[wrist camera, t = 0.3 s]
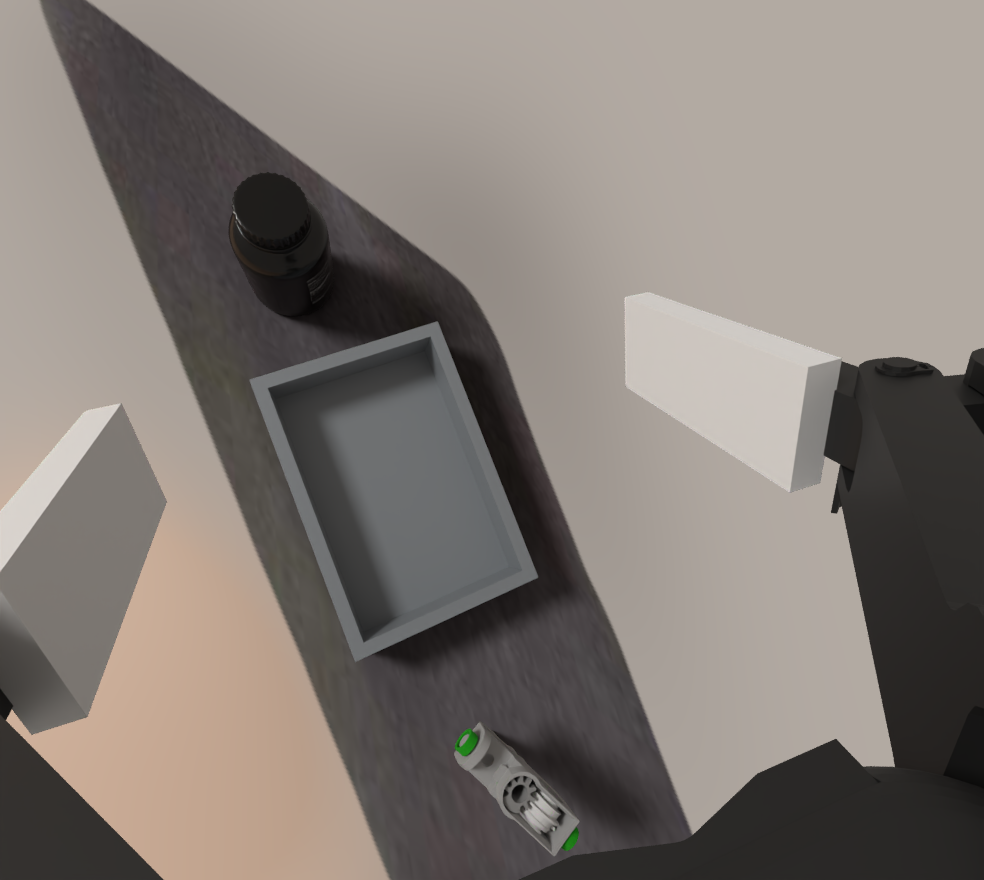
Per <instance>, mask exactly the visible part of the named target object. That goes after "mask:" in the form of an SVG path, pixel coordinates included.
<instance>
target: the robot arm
mask: <svg viewBox="0 0 984 880" xmlns="http://www.w3.org/2000/svg"><path fill="white" fill-rule="evenodd" d="M625 369H626V370H625V374H626V376H625V377H626V387H627V388H628V389H630V390H632V391H633V392H635V393H636V394H638V395H639V396H641V397H642V398H644V399H645V400H647V401H649V402H650V403H652V404H653V405H655V406H656V407H658V408H660V409H661V410H662V411H664V412H666V413H667V414H669V415H670V416H672V417H673V418H675V419H676V420H678V421H680V422H681V423H683V424H684V425H686V426H687V427H689V428H690V429H692V430H694V431H695V432H697V433H698V434H700V435H701V436H703V437H704V438H706V439H707V440H709V441H710V442H712V443H714V444H715V445H717V446H718V447H720V448H721V449H723V450H724V451H726V452H727V453H729V454H731V455H732V456H734V457H735V458H737V459H739V460H740V461H741V462H743V463H745V464H746V465H748V466H749V467H751V468H752V469H754V470H755V471H757V472H758V473H760V474H762V475H763V476H765V477H766V478H768V479H769V480H771V481H772V482H774V483H775V484H777V485H779V486H780V487H782V488H783V489H785V490H786V491H788V492H794V491H797V490H800V489H803V488H806V487H809V486H812V485H815V484H818V483H820V481H821V475H822V469H823V464H824V458H825V456H826V457H828V458H830V459H831V460H833V461H835V462H837V463H839V464H840V468H839V473H838V479H837V484H836V489H835V495H834V500H833V505H832V510H831V513H837V512H838V509H839V507H841V506H842V509H843V514H844V519H845V523H846V529H847V533H848V538H849V543H850V548H851V553H852V558H853V563H854V567H855V572H856V577H857V582H858V587H859V592H860V597H861V601H862V606H863V611H864V616H865V621H866V626H867V630H868V635H869V640H870V645H871V650H872V655H873V659H874V664H875V669H876V674H877V679H878V684H879V689H880V693H881V698H882V703H883V708H884V713H885V718H886V723H887V728H888V732H889V737H890V741H891V747H892V752H893V757H894V764H895V767H872V766H870V767H863V766H862V765H861V764H860V763H859V762H858V761H857V760H856V759H855V758H854V757H853V756H852V755H851V754H850V753H849V752H848V751H847V750H846V749H845V748H844V747H843V746H842V745H841V744H840V743H839V742H838V741H837V739H834V740H832V741H830V742H828V743H825V744H823V745H821V746H819V747H816V748H814V749H812V750H810V751H808V752H805V753H803V754H801V755H798V756H796V757H794V758H792V759H789V760H787V761H785V762H783V763H780V764H778V765H776V766H774V767H771V768H769V769H767V770H765V771H762V772H760V773H758V774H757V775H755V777H753V778H752V779H751V780H750V781H749V782H748V783H747V784H746V785H745V786H744V787H743V788H742V789H741V790H740V791H739V792H738V793H737V794H735V796H733V797H732V798H731V799H730V800H729V801H728V802H727V803H726V804H725V805H724V806H723V807H722V808H721V809H720V810H719V811H718V812H717V813H716V814H714V816H713V817H711V818H710V819H709V820H708V821H707V822H706V823H705V824H704V825H703V826H702V827H701V828H700V829H699V830H698V831H697V832H696V833H694V834H693V835H692V836H691V837H690V838H688V839H686V840H684V841H681V842H677V843H671V844H663V845H655V846H647V847H639V848H631V849H623V850H615V851H607V852H599V853H591V854H583V855H575V856H571V857H569V858H567V859H564V860H562V861H560V862H558V863H555V864H553V865H551V866H549V867H546V868H544V869H542V870H540V871H537V872H535V873H533V874H531V875H528V876H526V877H524V878H522V879H519V880H984V348H981V349H978V350H975V351H973V352H972V354H971V356H970V359H969V363H968V366H967V370H966V373H965V374H964V375H953V376H943V375H942V373H941V372H940V371H939V370H938V369H936V368H935V367H934V366H931V365H930V364H928V363H923V362H918V361H914V360H912V359H908V358H900V357H892V358H883V359H874V360H869V361H866V362H864V363H862V364H860V365H859V367H856V366H854V365H850V364H848V363H845V362H842V358H840V357H837V356H834V355H831V354H828V353H825V352H822V351H819V350H816V349H814V348H810V347H808V346H805V345H802V344H799V343H796V342H793V341H790V340H787V339H784V338H781V337H778V336H775V335H772V334H770V333H767V332H764V331H761V330H758V329H755V328H752V327H749V326H746V325H743V324H740V323H737V322H734V321H732V320H729V319H726V318H723V317H720V316H717V315H714V314H711V313H708V312H705V311H702V310H699V309H696V308H694V307H691V306H688V305H684V304H682V303H679V302H676V301H673V300H670V299H667V298H664V297H661V296H658V295H655V294H653V293H649V292H647V293H642V294H637V295H632V296H628V297H625ZM166 502H167V501H166V498H165V496H164V494H163V492H162V490H161V488H160V486H159V483H158V481H157V479H156V477H155V475H154V473H153V470H152V468H151V466H150V464H149V462H148V460H147V457H146V455H145V453H144V451H143V449H142V447H141V444H140V442H139V440H138V438H137V436H136V434H135V432H134V429H133V427H132V425H131V423H130V421H129V418H128V416H127V414H126V412H125V410H124V408H123V406H122V403H120V404H116V405H111V406H107V407H101V408H97V409H92V410H87V411H85V412H84V413H83V414H82V415H81V417H80V418H79V419H78V420H77V421H76V422H75V423H74V425H73V426H72V427H71V428H70V429H69V431H68V432H67V433H66V434H65V435H64V436H63V438H62V439H61V440H60V441H59V443H58V444H57V445H56V446H55V447H54V449H53V450H52V451H51V452H50V453H49V454H48V456H47V457H46V458H45V459H44V460H43V461H42V463H41V464H40V465H39V466H38V467H37V468H36V470H35V471H34V472H33V473H32V474H31V476H30V477H29V478H28V479H27V480H26V482H25V483H24V484H23V485H22V486H21V487H20V489H19V490H18V491H17V492H16V493H15V494H14V496H13V497H12V498H11V499H10V500H9V502H8V503H7V504H6V505H5V506H4V507H3V509H2V510H1V511H0V880H163V879H162V878H161V877H160V876H159V875H158V874H157V873H156V872H155V871H154V870H153V869H152V868H151V867H150V866H149V865H148V864H147V863H146V862H145V861H144V859H143V858H141V856H139V855H138V853H137V852H136V851H135V850H134V849H133V848H132V847H131V846H130V845H129V844H127V842H126V841H125V840H124V839H123V838H122V837H121V836H120V835H119V834H118V833H117V832H116V831H115V830H114V829H113V828H112V827H111V826H110V825H109V824H108V823H107V822H106V821H104V819H103V818H102V817H101V816H100V815H99V814H98V813H97V812H96V811H95V810H94V809H93V808H92V807H91V806H90V805H89V804H88V803H87V802H86V801H85V800H84V799H83V798H82V797H81V796H80V795H79V794H78V793H77V792H76V791H75V790H74V789H73V788H72V787H71V786H70V785H69V784H68V783H67V782H66V781H65V780H64V779H63V778H62V777H61V776H60V775H59V774H58V773H57V772H56V771H55V770H54V769H53V768H52V767H51V766H50V765H49V764H48V763H47V762H46V761H45V760H44V759H43V758H42V757H41V756H40V755H39V754H38V753H37V752H36V751H35V750H34V749H33V748H32V747H31V746H30V744H28V743H27V741H26V740H25V739H24V738H23V737H22V736H20V734H19V733H18V732H16V730H15V729H13V728H12V727H11V726H10V724H9V723H8V722H7V721H6V719H7V717H8V715H9V713H10V711H11V709H12V710H13V711H14V713H15V714H16V715H17V716H18V718H19V719H20V720H21V721H22V723H23V724H24V725H25V727H26V728H27V729H28V730H29V732H30V733H31V734H32V735H33V734H35V733H39V732H42V731H45V730H48V729H51V728H54V727H58V726H61V725H64V724H67V723H70V722H73V721H76V720H79V719H83V718H86V717H87V716H88V714H89V711H90V708H91V706H92V703H93V700H94V697H95V695H96V692H97V689H98V687H99V684H100V681H101V678H102V676H103V673H104V670H105V668H106V665H107V662H108V659H109V657H110V654H111V651H112V649H113V646H114V643H115V640H116V638H117V635H118V632H119V630H120V627H121V624H122V622H123V619H124V616H125V613H126V611H127V608H128V605H129V603H130V600H131V597H132V595H133V592H134V589H135V586H136V584H137V581H138V578H139V576H140V573H141V570H142V567H143V565H144V562H145V559H146V557H147V554H148V551H149V548H150V546H151V543H152V540H153V538H154V535H155V532H156V529H157V527H158V524H159V521H160V519H161V516H162V513H163V511H164V508H165V505H166Z"/></svg>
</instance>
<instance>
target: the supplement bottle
mask: <svg viewBox="0 0 984 880" xmlns="http://www.w3.org/2000/svg"><path fill="white" fill-rule="evenodd" d="M232 201H233V204H232V208H233V213H232V215H231V218H230V222H229V239H230V243H231V246H232V249H233V251H234V253H235V255H236V257H237V259H238V261H239V263H240V265H241V267H242V269H243V271H244V273H245V275H246V277H247V279H248V281H249V283H250V285H251V287H252V289H253V291H254V293H255V294H256V296H257V297H258V299H259V300H260V301H261V302H262V303H263V304H264V305H265V306H266V307H268V308H269V309H271V310H272V311H274V312H277V313H279V314H282V315H287V316H302V315H307V314H310V313H312V312H314V311H316V310H318V309H319V308H320V307H322V306H323V305H324V304H325V303H326V301H327V300H328V299H329V297H330V295H331V293H332V290H333V286H334V271H333V263H332V256H331V249H330V242H329V235H328V230H327V226H326V223H325V220H324V218H323V216H322V214H321V213H320V211H319V210H318V209H317V207H316V206H315V205H314V204H313V203H312V202H311V201H309V200H308V199H307V198H306V197H305V194H304V193H303V192H302V190H301V188H300V187H299V186H297V184H296V183H295V182H293V181H291V180H290V179H289V178H286V177H284V176H283V175H278V174H276V173H269V172H267V173H259V174H258V175H253V176H252V177H248V178H247V179H246V180H245V181H243V182H241V184H240V185H239V186H238V187H237V190H236V191H235V192H234V197H233V199H232Z"/></svg>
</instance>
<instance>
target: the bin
mask: <svg viewBox="0 0 984 880" xmlns="http://www.w3.org/2000/svg"><path fill="white" fill-rule="evenodd" d="M250 383H251V386H252V388H253V391H254V394H255V396H256V399H257V402H258V404H259V407H260V410H261V412H262V415H263V418H264V420H265V423H266V426H267V428H268V431H269V434H270V436H271V439H272V442H273V444H274V447H275V450H276V452H277V455H278V458H279V460H280V463H281V466H282V468H283V471H284V474H285V476H286V479H287V482H288V484H289V487H290V490H291V492H292V495H293V498H294V500H295V503H296V506H297V508H298V511H299V514H300V516H301V519H302V522H303V524H304V527H305V530H306V532H307V535H308V538H309V540H310V543H311V546H312V548H313V551H314V554H315V556H316V559H317V562H318V564H319V567H320V570H321V572H322V575H323V578H324V580H325V583H326V586H327V588H328V591H329V594H330V596H331V599H332V602H333V604H334V607H335V610H336V612H337V615H338V618H339V620H340V623H341V626H342V628H343V631H344V634H345V636H346V639H347V642H348V644H349V647H350V650H351V652H352V655H353V658H354V660H355V662H356V661H358V660H361V659H363V658H365V657H367V656H369V655H371V654H374V653H376V652H378V651H380V650H382V649H384V648H387V647H389V646H391V645H393V644H395V643H397V642H400V641H402V640H404V639H406V638H408V637H410V636H413V635H415V634H417V633H419V632H421V631H423V630H426V629H428V628H430V627H432V626H434V625H436V624H439V623H441V622H443V621H445V620H447V619H449V618H452V617H454V616H456V615H458V614H460V613H462V612H465V611H467V610H469V609H471V608H473V607H475V606H478V605H480V604H482V603H484V602H486V601H488V600H491V599H493V598H495V597H497V596H499V595H501V594H504V593H506V592H508V591H510V590H512V589H514V588H517V587H519V586H521V585H523V584H525V583H527V582H530V581H532V580H534V579H536V578H538V575H537V573H536V570H535V567H534V565H533V562H532V560H531V557H530V555H529V552H528V550H527V547H526V545H525V542H524V540H523V537H522V534H521V532H520V529H519V527H518V524H517V522H516V519H515V517H514V514H513V512H512V509H511V506H510V504H509V501H508V499H507V496H506V494H505V491H504V489H503V486H502V484H501V481H500V479H499V476H498V473H497V471H496V468H495V466H494V463H493V461H492V458H491V456H490V453H489V451H488V448H487V445H486V443H485V440H484V438H483V435H482V433H481V430H480V428H479V425H478V423H477V420H476V418H475V415H474V412H473V410H472V407H471V405H470V402H469V400H468V397H467V395H466V392H465V390H464V387H463V384H462V382H461V379H460V377H459V374H458V372H457V369H456V367H455V364H454V362H453V359H452V357H451V354H450V351H449V349H448V346H447V344H446V341H445V339H444V336H443V334H442V331H441V329H440V326H439V323H438V321H437V322H434V323H431V324H427V325H424V326H421V327H418V328H414V329H411V330H408V331H405V332H402V333H398V334H395V335H392V336H389V337H386V338H382V339H379V340H376V341H373V342H369V343H366V344H363V345H360V346H357V347H353V348H350V349H347V350H344V351H340V352H337V353H334V354H331V355H328V356H324V357H321V358H318V359H315V360H311V361H308V362H305V363H302V364H299V365H295V366H292V367H289V368H286V369H283V370H279V371H276V372H273V373H270V374H266V375H263V376H260V377H257V378H254V379H250Z"/></svg>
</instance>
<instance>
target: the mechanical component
mask: <svg viewBox="0 0 984 880" xmlns="http://www.w3.org/2000/svg"><path fill="white" fill-rule="evenodd" d="M455 749H456V751H455V753H454V755H455V758H456V760H457V762H458V764H459V765H460V766H461V767H462V768H463V769H465V770H468V771H469V772H470V773H471V774H472V775H474V776H475V777H476V778H477V779H478V780H479V781H480V782H481V783H482V784H483V785H484V786H485V787H487V789H488V791H489V793H490V794H491V795H492V796H493V797H494V798H495V799H496V800H497V801H498V803H499V805H500V807H501V809H502V811H503V812H504V814H505V815H506V816H507V817H509V818H510V819H513V820H515V821H516V822H517V823H518V824H520V825H521V826H522V827H523V828H524V829H525V830H526V831H527V832H528V833H529V834H530V835H531V836H533V837H534V838H535V839H536V840H537V841H538V842H539V843H540V844H541V845H542V846H543V847H544V848H546V849H547V850H548V851H549V852H550V853H551V854H552V855H553V856H555V855H556V854H557V852H558V851H559V849H560V848H562V849H564V850H565V851H568V850H570V849H571V848H572V847H573V846H574V845H575V843H576V842H577V839H578V835H579V832H578V829H577V828H576V826H577V824H578V823H579V822H580V821H579V820H578V818H577V817H576V816H575V814H574V813H573V812H572V810H571V809H570V808H569V807H568V805H567V804H566V803H565V801H564V800H563V799H562V798H561V796H560V795H559V794H558V793H557V792H556V791H555V790H554V789H553V788H552V787H551V786H550V785H549V784H548V783H547V782H546V781H545V780H544V779H543V778H541V777H540V776H539V775H538V774H537V773H536V772H535V771H534V770H533V769H532V768H531V767H530V766H529V765H528V764H527V763H526V762H525V760H524V759H523V758H522V757H521V756H519V755H517V753H516V751H515V750H514V749H513V748H512V747H510V746H509V745H506V744H505V743H504V742H503V741H502V740H501V739H500V738H499V737H498V736H497V735H496V734H495V732H494V731H492V730H490V729H489V728H488V727H487V726H486V725H485V724H483V723H482V722H479V723H478V724H477V726H476V727H475V728H474V729H473V730H471V729H467V730H466V731H464V732H463V733H462V735H461V736H460V737H459V739H458V740H457V742H456V745H455ZM523 818H524V819H525V820H526V821H527V822H528V823H529V824H530V825H529V824H528V823H527V822H526V821H525V820H524V819H523Z"/></svg>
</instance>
